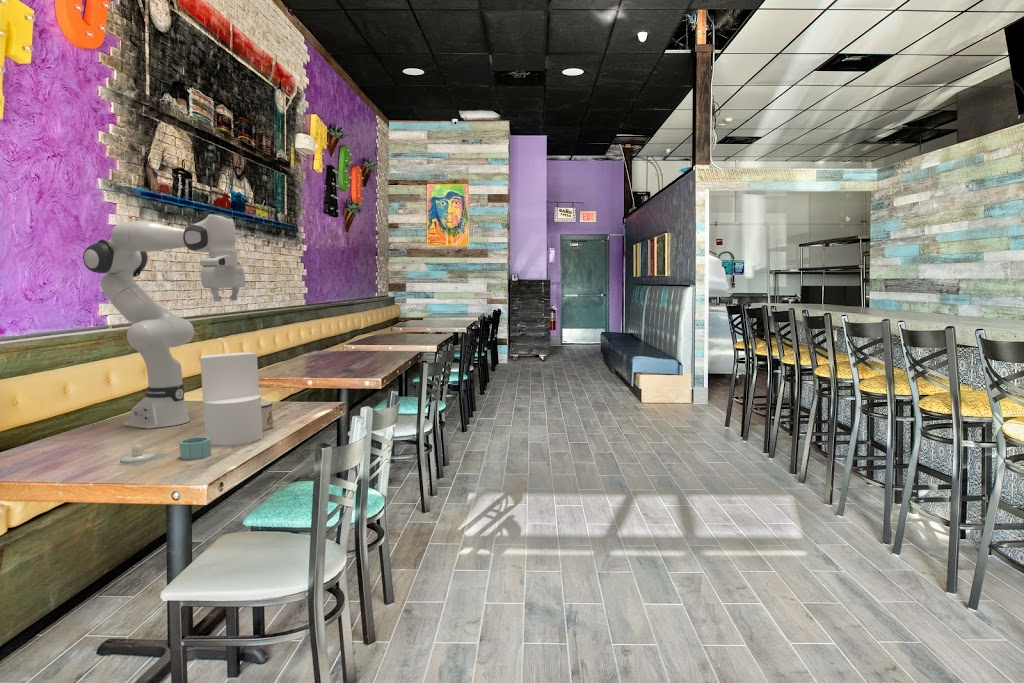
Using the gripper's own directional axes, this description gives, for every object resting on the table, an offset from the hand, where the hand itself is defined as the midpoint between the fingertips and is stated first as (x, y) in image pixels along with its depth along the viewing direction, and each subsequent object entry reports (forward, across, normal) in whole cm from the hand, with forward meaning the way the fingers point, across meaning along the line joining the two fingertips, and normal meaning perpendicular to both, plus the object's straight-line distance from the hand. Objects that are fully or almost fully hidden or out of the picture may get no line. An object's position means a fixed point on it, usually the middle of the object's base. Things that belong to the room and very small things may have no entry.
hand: (225, 301), depth 214 cm
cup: (+45, +34, +10) cm, 57 cm away
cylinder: (+46, +14, +9) cm, 49 cm away
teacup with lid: (+46, -2, +9) cm, 47 cm away
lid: (+45, +39, -6) cm, 60 cm away
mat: (+46, +39, -6) cm, 60 cm away
